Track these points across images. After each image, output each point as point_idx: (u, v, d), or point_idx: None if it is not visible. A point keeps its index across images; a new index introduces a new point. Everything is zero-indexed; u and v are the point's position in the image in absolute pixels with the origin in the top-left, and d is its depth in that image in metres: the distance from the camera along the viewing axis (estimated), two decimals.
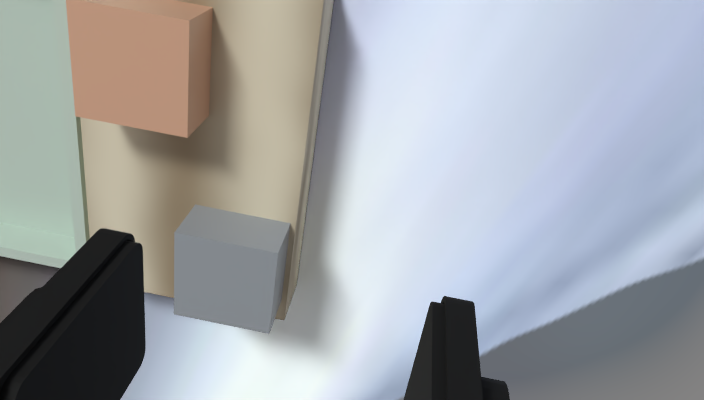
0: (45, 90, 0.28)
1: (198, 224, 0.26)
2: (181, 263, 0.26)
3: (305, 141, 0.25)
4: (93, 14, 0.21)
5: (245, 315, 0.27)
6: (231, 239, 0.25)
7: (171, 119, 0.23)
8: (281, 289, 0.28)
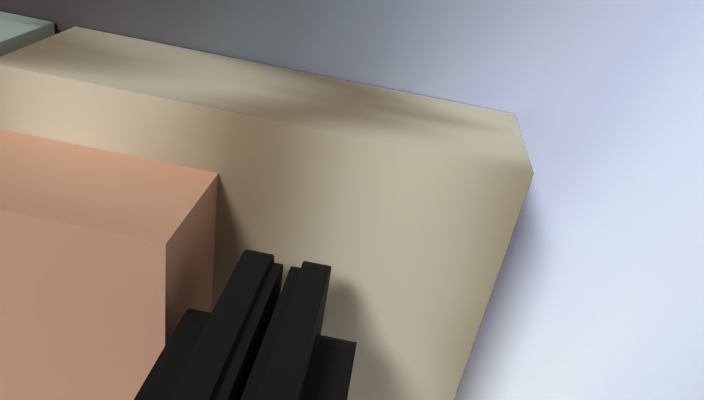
0: None
1: None
2: None
3: None
4: None
5: None
6: None
7: None
8: None
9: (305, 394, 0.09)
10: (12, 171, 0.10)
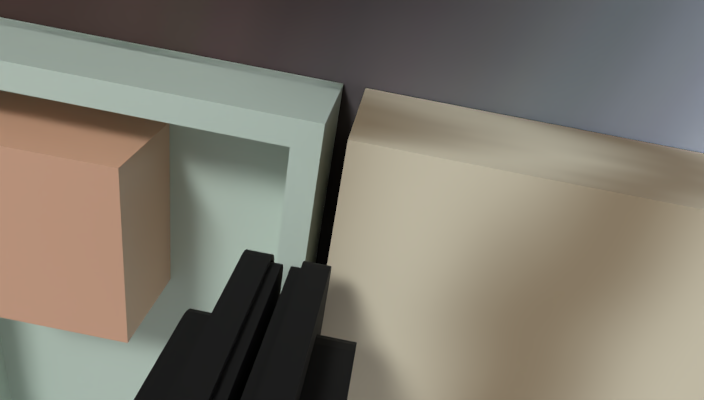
0: None
1: None
2: None
3: None
4: None
5: None
6: None
7: None
8: None
9: (305, 394, 0.09)
10: (87, 130, 0.13)
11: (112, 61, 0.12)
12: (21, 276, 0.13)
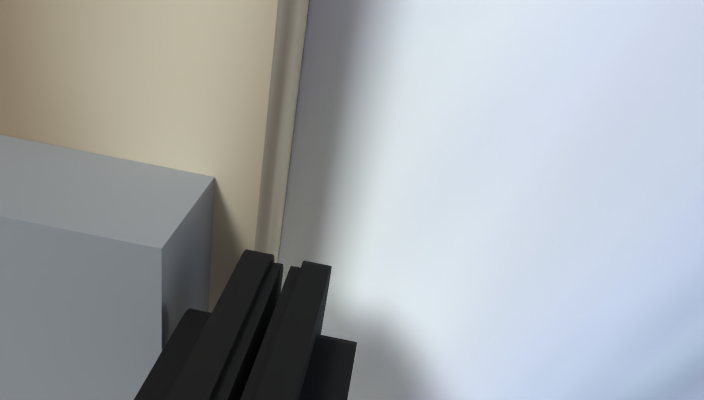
0: None
1: None
2: None
3: None
4: None
5: None
6: (39, 212, 0.09)
7: None
8: None
9: (305, 394, 0.09)
10: None
11: None
12: None
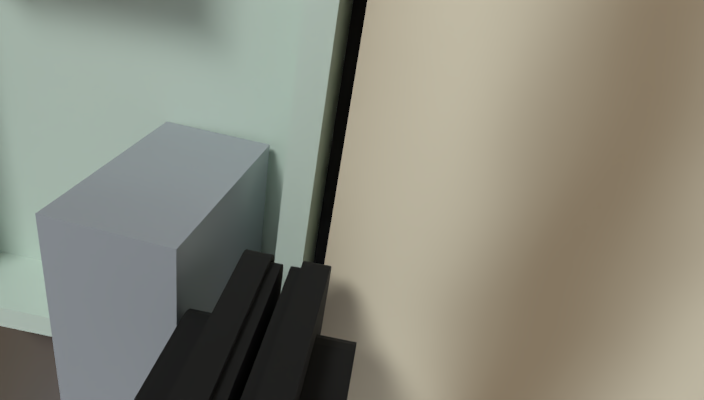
0: None
1: (191, 141, 0.13)
2: None
3: None
4: None
5: None
6: (122, 166, 0.12)
7: None
8: None
9: (305, 394, 0.09)
10: None
11: None
12: None
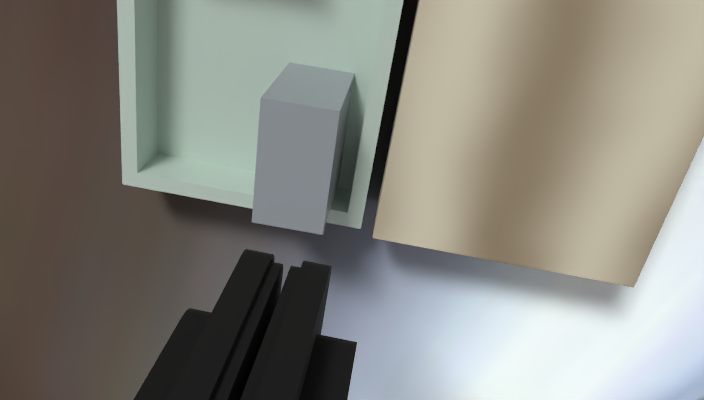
0: None
1: (310, 71, 0.22)
2: None
3: None
4: None
5: None
6: (284, 81, 0.20)
7: None
8: (313, 207, 0.20)
9: (305, 394, 0.09)
10: None
11: None
12: None
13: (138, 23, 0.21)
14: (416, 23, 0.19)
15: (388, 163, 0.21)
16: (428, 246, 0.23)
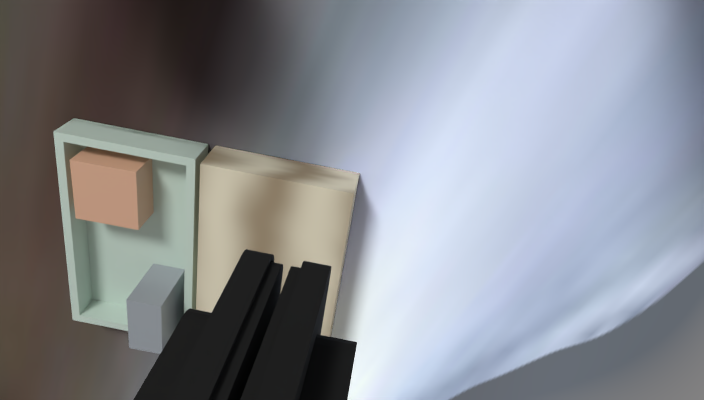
0: (168, 228, 0.44)
1: (161, 271, 0.45)
2: None
3: (340, 271, 0.40)
4: None
5: None
6: (143, 282, 0.43)
7: None
8: (156, 343, 0.43)
9: (305, 394, 0.09)
10: (125, 160, 0.40)
11: (133, 139, 0.39)
12: (104, 207, 0.40)
13: (76, 253, 0.44)
14: (197, 264, 0.42)
15: None
16: None
